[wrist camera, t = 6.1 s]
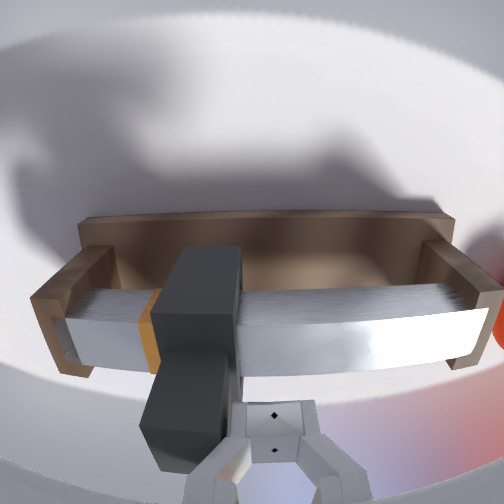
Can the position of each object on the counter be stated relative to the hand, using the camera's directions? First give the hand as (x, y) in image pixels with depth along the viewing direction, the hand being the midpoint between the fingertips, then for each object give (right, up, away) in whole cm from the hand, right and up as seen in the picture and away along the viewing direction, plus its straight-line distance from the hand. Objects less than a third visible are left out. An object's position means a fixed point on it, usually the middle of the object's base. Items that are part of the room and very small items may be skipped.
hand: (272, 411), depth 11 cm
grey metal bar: (0, +3, +6) cm, 6 cm away
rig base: (0, +5, +11) cm, 12 cm away
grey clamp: (-3, +3, +7) cm, 9 cm away
